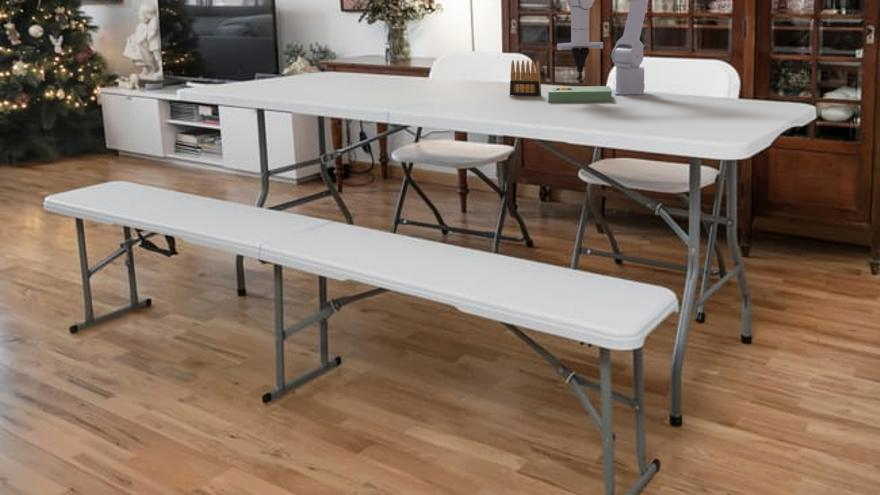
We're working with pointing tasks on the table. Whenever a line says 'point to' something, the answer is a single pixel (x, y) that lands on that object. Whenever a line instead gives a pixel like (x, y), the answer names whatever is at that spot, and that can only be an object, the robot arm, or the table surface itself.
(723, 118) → the table surface
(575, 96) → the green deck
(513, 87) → the ammunition clip
